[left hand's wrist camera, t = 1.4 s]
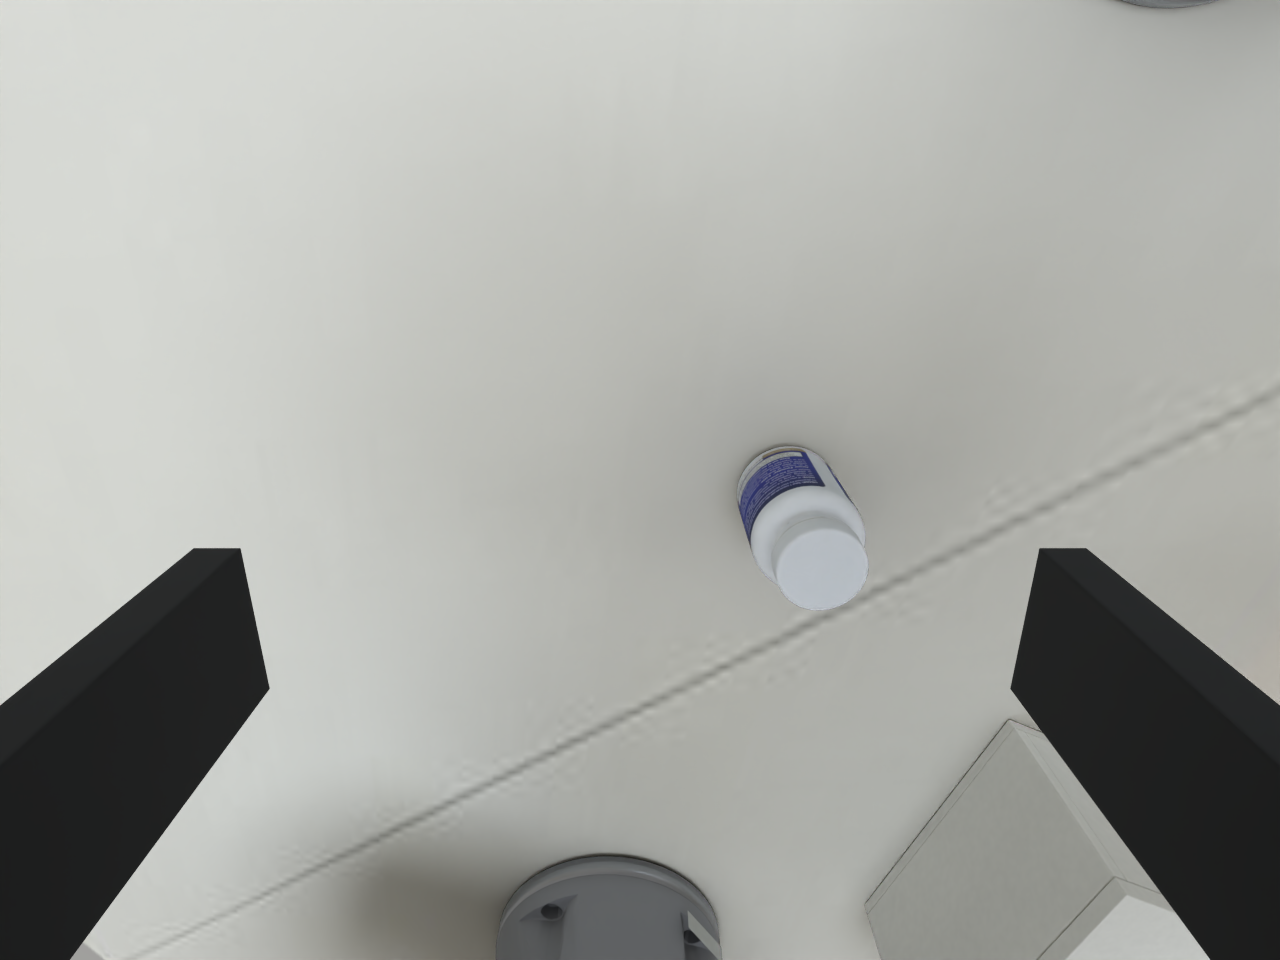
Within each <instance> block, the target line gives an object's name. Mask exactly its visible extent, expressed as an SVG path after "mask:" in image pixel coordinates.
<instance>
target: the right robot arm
mask: <svg viewBox="0 0 1280 960" xmlns="http://www.w3.org/2000/svg"><path fill="white" fill-rule="evenodd" d="M1122 1H1126V2H1129V3H1132V4H1136V5H1142V6H1148V7H1158V8H1178V7H1190V6H1196V5H1201V4H1207V3H1210V2H1214V1H1217V0H1122Z"/></svg>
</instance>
